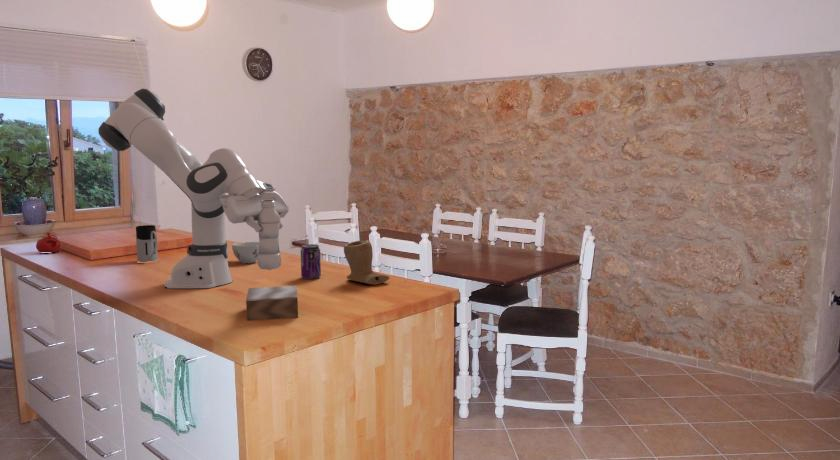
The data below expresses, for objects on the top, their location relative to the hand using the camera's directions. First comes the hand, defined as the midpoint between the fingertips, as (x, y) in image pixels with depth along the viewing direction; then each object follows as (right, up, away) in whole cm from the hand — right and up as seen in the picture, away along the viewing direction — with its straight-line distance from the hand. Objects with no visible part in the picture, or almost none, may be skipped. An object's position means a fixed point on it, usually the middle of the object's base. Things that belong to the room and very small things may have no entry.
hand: (270, 229), depth 175 cm
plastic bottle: (-1, -12, +2) cm, 12 cm away
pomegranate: (-126, -11, +104) cm, 164 cm away
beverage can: (+3, -18, +50) cm, 54 cm away
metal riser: (0, -24, +4) cm, 25 cm away
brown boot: (+23, -19, +43) cm, 52 cm away
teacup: (-30, -14, +81) cm, 87 cm away
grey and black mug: (-70, -14, +80) cm, 107 cm away
